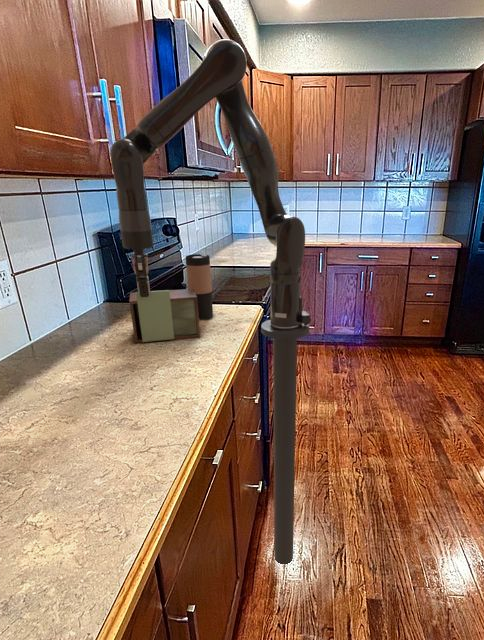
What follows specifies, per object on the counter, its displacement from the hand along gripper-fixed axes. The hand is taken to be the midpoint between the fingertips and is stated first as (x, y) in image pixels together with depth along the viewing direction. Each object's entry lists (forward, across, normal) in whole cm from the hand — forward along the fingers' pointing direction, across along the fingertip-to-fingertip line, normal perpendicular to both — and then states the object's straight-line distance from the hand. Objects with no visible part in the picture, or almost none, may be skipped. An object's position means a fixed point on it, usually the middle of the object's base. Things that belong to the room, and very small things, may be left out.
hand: (144, 295), depth 113 cm
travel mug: (+14, +21, -17) cm, 30 cm away
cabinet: (+14, +6, -5) cm, 15 cm away
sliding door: (+13, 0, -2) cm, 13 cm away
